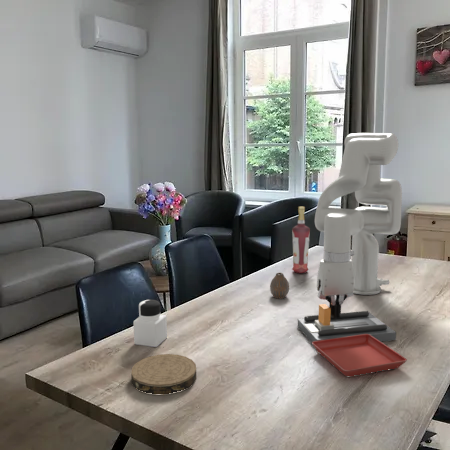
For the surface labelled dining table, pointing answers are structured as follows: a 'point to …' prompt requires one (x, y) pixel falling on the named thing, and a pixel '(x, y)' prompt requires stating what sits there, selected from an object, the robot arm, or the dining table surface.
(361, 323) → the switch panel
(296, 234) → the liquor
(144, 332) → the medicine bottle
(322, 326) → the breaker lever
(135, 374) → the round wood slice
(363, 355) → the plant saucer
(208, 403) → the dining table surface
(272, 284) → the vase
